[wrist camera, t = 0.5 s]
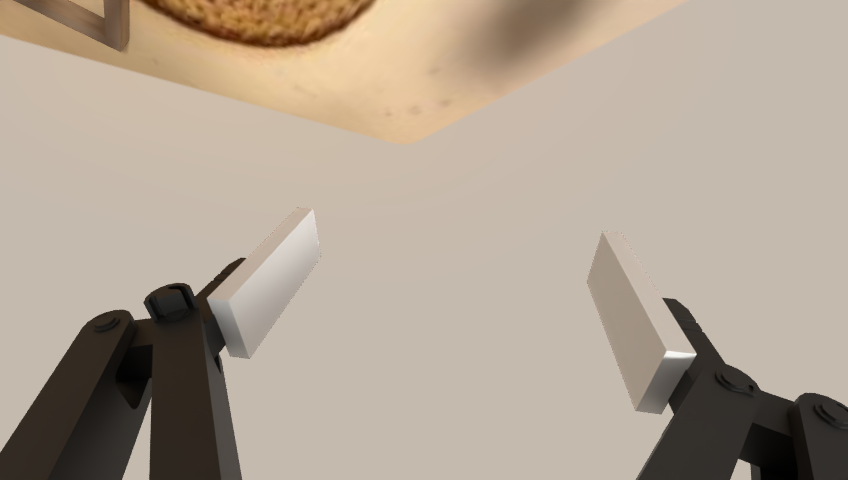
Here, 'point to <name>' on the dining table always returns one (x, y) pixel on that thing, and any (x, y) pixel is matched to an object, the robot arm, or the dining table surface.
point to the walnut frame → (89, 19)
